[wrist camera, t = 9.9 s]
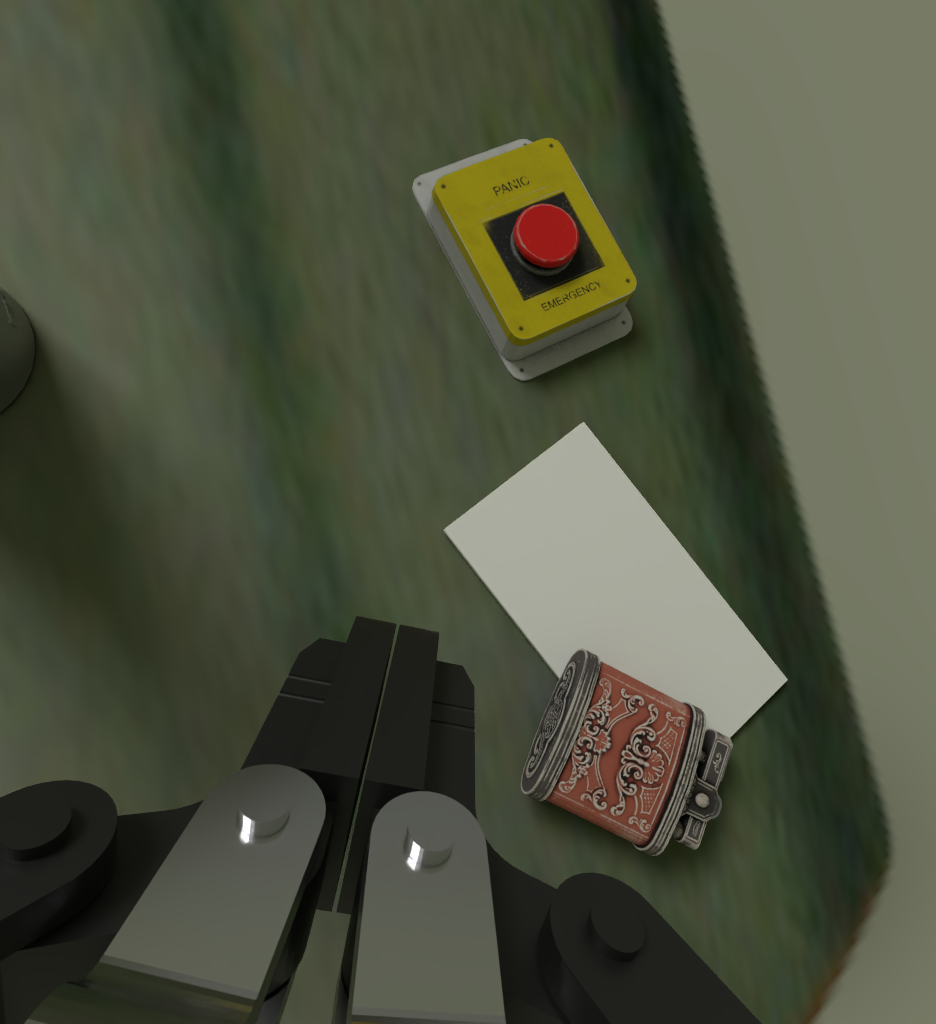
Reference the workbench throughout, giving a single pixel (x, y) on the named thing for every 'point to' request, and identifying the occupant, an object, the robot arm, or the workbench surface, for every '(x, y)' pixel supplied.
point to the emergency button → (530, 253)
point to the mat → (611, 583)
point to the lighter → (626, 757)
